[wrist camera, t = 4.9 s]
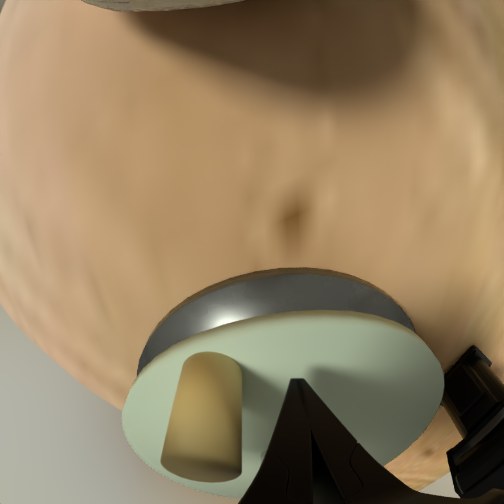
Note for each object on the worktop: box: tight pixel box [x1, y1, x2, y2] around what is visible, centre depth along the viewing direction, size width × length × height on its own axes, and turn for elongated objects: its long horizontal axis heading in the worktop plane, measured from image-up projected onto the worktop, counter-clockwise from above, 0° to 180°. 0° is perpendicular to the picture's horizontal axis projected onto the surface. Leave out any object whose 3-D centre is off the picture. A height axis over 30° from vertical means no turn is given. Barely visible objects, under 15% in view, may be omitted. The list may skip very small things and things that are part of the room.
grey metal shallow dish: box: [137, 268, 416, 376], centre depth 16 cm, size 20×20×4 cm
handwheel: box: [122, 310, 444, 499], centre depth 11 cm, size 20×20×6 cm
